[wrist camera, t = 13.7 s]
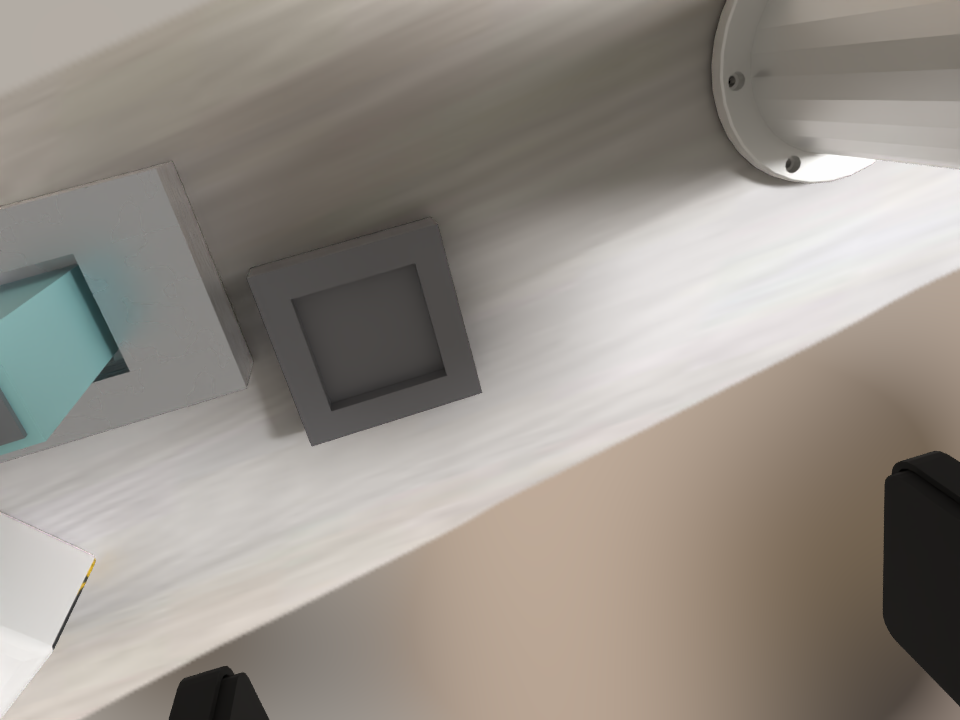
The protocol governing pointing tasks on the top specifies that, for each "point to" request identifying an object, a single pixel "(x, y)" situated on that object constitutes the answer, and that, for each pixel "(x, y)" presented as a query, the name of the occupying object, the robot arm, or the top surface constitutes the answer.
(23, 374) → the plug
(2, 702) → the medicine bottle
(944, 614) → the robot arm
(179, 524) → the top surface
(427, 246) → the grey square socket
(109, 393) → the port
